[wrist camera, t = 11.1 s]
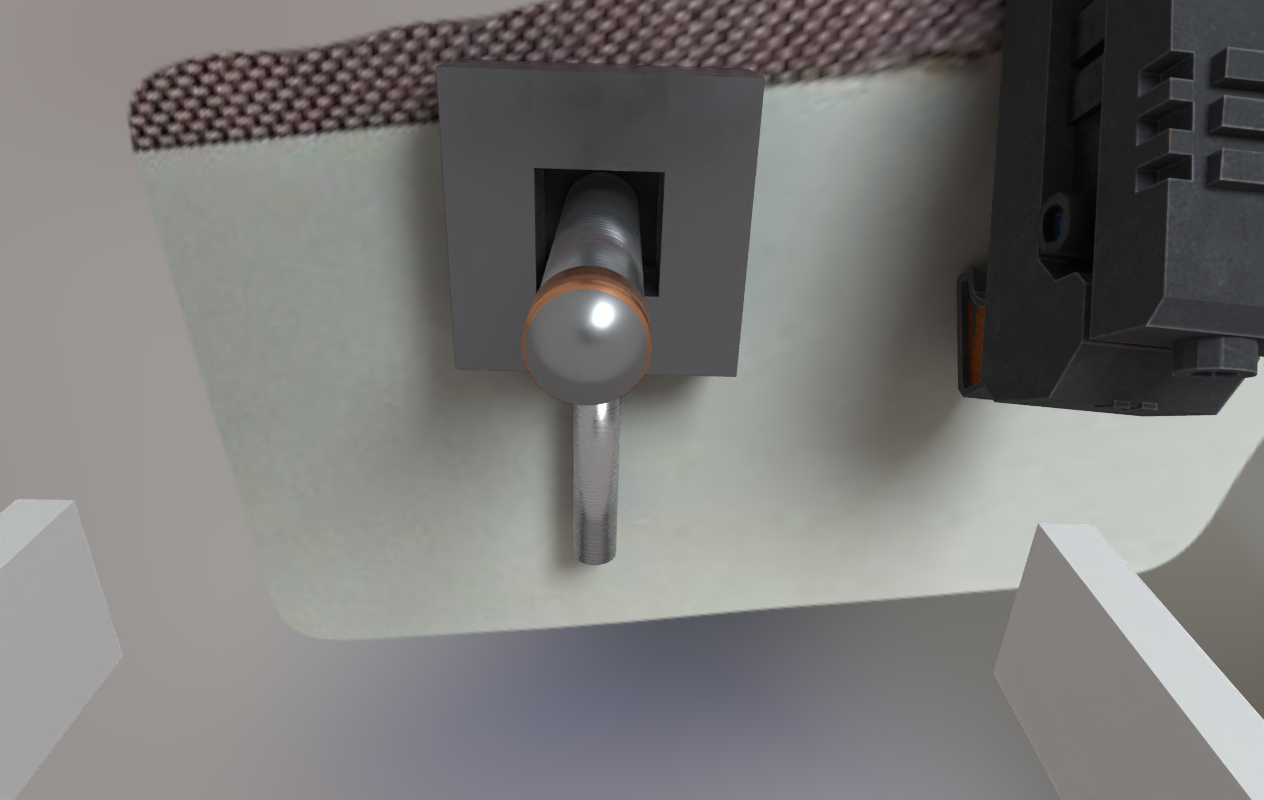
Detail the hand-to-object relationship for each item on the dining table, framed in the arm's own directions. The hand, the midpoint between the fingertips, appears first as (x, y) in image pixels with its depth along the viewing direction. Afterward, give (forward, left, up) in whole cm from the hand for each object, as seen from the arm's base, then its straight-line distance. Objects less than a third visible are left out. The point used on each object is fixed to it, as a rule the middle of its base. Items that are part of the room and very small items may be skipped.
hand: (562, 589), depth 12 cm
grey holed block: (+5, 0, -24) cm, 25 cm away
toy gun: (-4, +17, -25) cm, 30 cm away
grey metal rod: (0, 0, -24) cm, 24 cm away
